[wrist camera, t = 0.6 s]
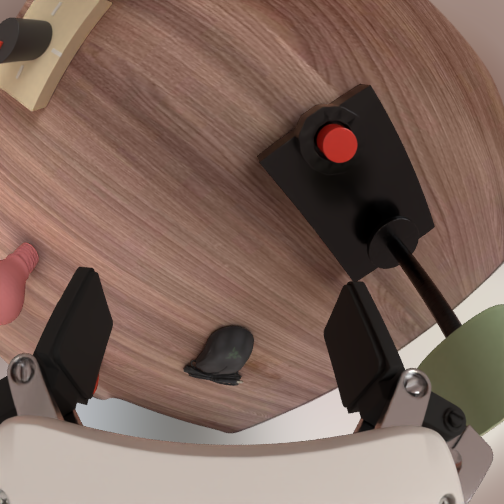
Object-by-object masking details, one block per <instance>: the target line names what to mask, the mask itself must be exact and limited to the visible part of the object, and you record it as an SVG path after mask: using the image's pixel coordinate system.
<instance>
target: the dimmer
mask: <svg viewBox="0 0 504 504" xmlns="http://www.w3.org/2000/svg"><path fill="white" fill-rule="evenodd" d="M112 4H113V3H111V2H109V1H107V0H34V1H33V3H32V5H31V6H30V8H29V9H28V11H27V12H26V14H25V16H24V17H23V19H34V20H42V21H47V22H49V23H50V24H51V26H52V39H51V42H50V44H49V46H48V48H47V49H46V51H45V52H44V53H43V54H42V55H41V56H40V57H38V58H37V59H35V60H29V61H18V62H10V63H3V64H0V88H1V89H3V90H4V91H5V92H7V93H8V94H9V95H11V96H12V97H13V98H14V99H16V100H17V101H18V102H20V103H21V104H22V105H24V106H25V107H26V108H28V109H29V110H30V111H32V112H33V111H36V110H39V109H42V108H45V107H46V106H47V104H48V102H49V100H50V98H51V96H52V94H53V92H54V90H55V88H56V86H57V85H58V83H59V81H60V79H61V77H62V76H63V74H64V72H65V70H66V69H67V67H68V65H69V64H70V62H71V60H72V59H73V57H74V56H75V54H76V52H77V51H78V49H79V48H80V46H81V45H82V43H83V42H84V40H85V39H86V38H87V36H88V35H89V33H90V32H91V31H92V29H93V28H94V27H95V25H96V24H97V23H98V21H99V20H100V19H101V17H102V16H103V15H104V14H105V12H106V11H107V10H108V9H109V7H110V6H111V5H112Z"/></svg>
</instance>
